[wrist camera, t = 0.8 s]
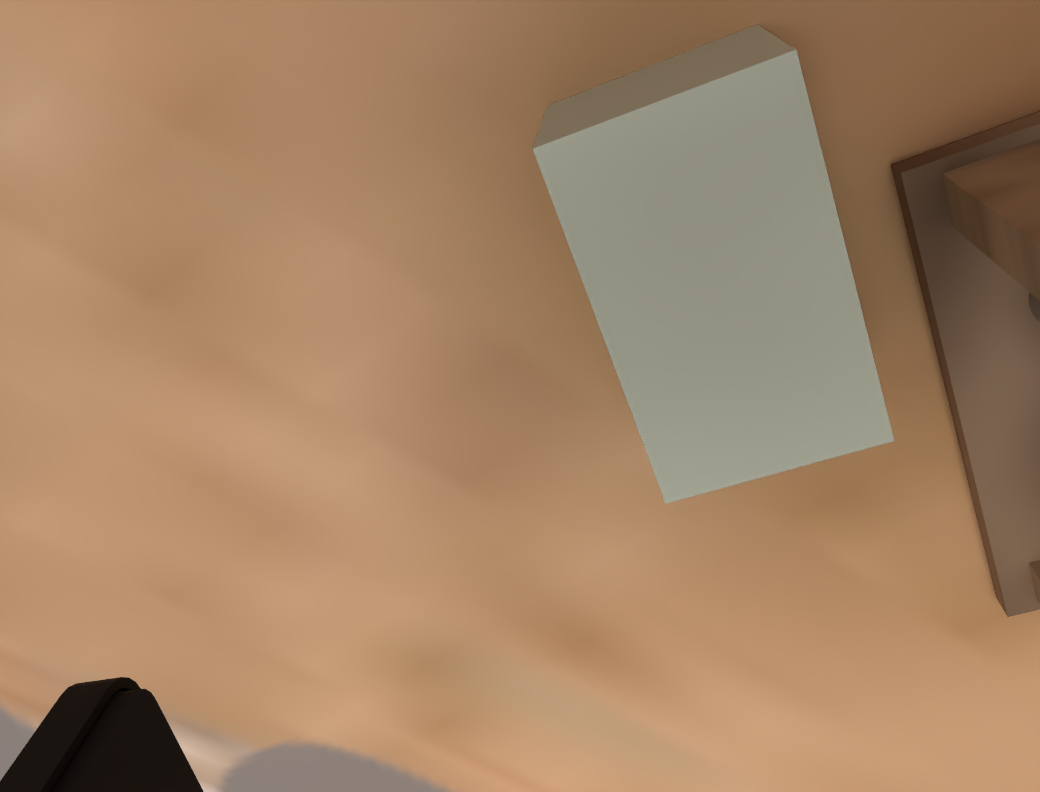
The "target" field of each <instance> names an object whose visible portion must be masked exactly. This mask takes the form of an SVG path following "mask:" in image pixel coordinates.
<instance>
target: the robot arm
mask: <svg viewBox="0 0 1040 792" xmlns="http://www.w3.org/2000/svg"><path fill="white" fill-rule="evenodd" d="M0 792H203V790H202V788H201V786H200V784H199V782H198V780H197V778H196V776H195V774H194V772H193V770H192V769H191V767H190V765H189V763H188V761H187V759H186V757H185V755H184V753H183V751H182V749H181V747H180V745H179V743H178V742H177V740H176V738H175V736H174V734H173V732H172V730H171V728H170V726H169V724H168V722H167V720H166V718H165V716H164V715H163V713H162V711H161V709H160V707H159V705H158V703H157V701H156V699H155V697H154V696H153V695H152V693H151V692H149V691H148V690H146V689H140V687H139V686H138V684H137V683H136V682H135V681H133V680H132V679H130V678H124V677H120V678H113V679H106V680H99V681H92V682H85V683H78V684H75V685H72V686H70V687H68V688H67V689H66V690H65V691H64V692H63V694H62V695H61V696H60V697H59V699H58V700H57V702H56V703H55V704H54V706H53V707H52V709H51V710H50V711H49V713H48V714H47V716H46V717H45V719H44V720H43V721H42V723H41V724H40V726H39V727H38V728H37V730H36V731H35V733H34V734H33V736H32V737H31V738H30V740H29V742H28V743H27V744H26V746H25V747H24V748H23V750H22V751H21V753H20V754H19V756H18V757H17V758H16V760H15V761H14V763H13V764H12V766H11V767H10V768H9V770H8V771H7V772H6V774H5V775H4V777H3V778H2V780H1V781H0Z"/></svg>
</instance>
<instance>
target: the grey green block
mask: <svg viewBox="0 0 1040 792" xmlns="http://www.w3.org/2000/svg"><path fill="white" fill-rule="evenodd" d="M533 151H534V154H535V157H536V159H537V162H538V165H539V167H540V170H541V173H542V175H543V178H544V181H545V183H546V186H547V189H548V191H549V194H550V197H551V199H552V202H553V205H554V207H555V210H556V213H557V215H558V218H559V221H560V223H561V226H562V229H563V231H564V234H565V237H566V239H567V242H568V245H569V247H570V250H571V253H572V255H573V258H574V261H575V263H576V266H577V269H578V271H579V274H580V277H581V279H582V282H583V285H584V287H585V290H586V293H587V295H588V298H589V301H590V303H591V306H592V309H593V311H594V314H595V317H596V319H597V322H598V325H599V327H600V330H601V333H602V335H603V338H604V341H605V343H606V346H607V349H608V351H609V354H610V357H611V359H612V362H613V365H614V367H615V370H616V373H617V375H618V378H619V381H620V383H621V386H622V389H623V391H624V394H625V397H626V399H627V402H628V405H629V407H630V410H631V413H632V415H633V418H634V421H635V423H636V426H637V429H638V431H639V434H640V437H641V439H642V442H643V445H644V447H645V450H646V453H647V455H648V458H649V461H650V463H651V466H652V469H653V471H654V474H655V477H656V479H657V482H658V485H659V487H660V490H661V493H662V495H663V498H664V501H665V503H666V504H667V503H670V502H674V501H678V500H681V499H685V498H689V497H692V496H696V495H700V494H703V493H707V492H710V491H714V490H718V489H721V488H725V487H729V486H732V485H736V484H740V483H743V482H747V481H751V480H754V479H758V478H761V477H765V476H769V475H772V474H776V473H780V472H783V471H787V470H791V469H794V468H798V467H801V466H805V465H809V464H812V463H816V462H820V461H823V460H827V459H831V458H834V457H838V456H842V455H845V454H849V453H852V452H856V451H860V450H863V449H867V448H871V447H874V446H878V445H882V444H885V443H889V442H893V441H894V438H893V434H892V430H891V426H890V422H889V418H888V414H887V410H886V406H885V402H884V398H883V394H882V390H881V386H880V382H879V378H878V374H877V370H876V366H875V362H874V358H873V354H872V350H871V346H870V342H869V338H868V334H867V330H866V326H865V322H864V318H863V314H862V310H861V306H860V302H859V298H858V294H857V290H856V286H855V282H854V278H853V274H852V270H851V266H850V262H849V258H848V254H847V250H846V246H845V242H844V238H843V234H842V230H841V226H840V222H839V218H838V214H837V210H836V206H835V202H834V198H833V194H832V190H831V186H830V182H829V178H828V174H827V170H826V166H825V162H824V158H823V154H822V150H821V146H820V142H819V138H818V134H817V130H816V126H815V122H814V118H813V114H812V110H811V106H810V102H809V98H808V94H807V90H806V86H805V82H804V78H803V74H802V70H801V66H800V62H799V58H798V54H797V50H796V49H795V48H793V47H792V46H790V45H789V44H787V43H785V42H784V41H782V40H781V39H779V38H778V37H776V36H774V35H773V34H771V33H770V32H768V31H767V30H765V29H763V28H762V27H760V26H759V25H754V26H751V27H749V28H746V29H744V30H741V31H739V32H736V33H733V34H731V35H728V36H726V37H723V38H720V39H718V40H715V41H713V42H710V43H707V44H705V45H702V46H700V47H697V48H695V49H692V50H689V51H687V52H684V53H682V54H679V55H676V56H674V57H671V58H669V59H666V60H664V61H661V62H658V63H656V64H653V65H651V66H648V67H645V68H643V69H640V70H638V71H635V72H632V73H630V74H627V75H625V76H622V77H620V78H617V79H614V80H612V81H609V82H607V83H604V84H601V85H599V86H596V87H594V88H591V89H589V90H586V91H583V92H581V93H578V94H576V95H573V96H570V97H568V98H565V99H563V100H560V101H557V102H555V103H552V104H550V105H547V107H546V110H545V113H544V116H543V119H542V122H541V125H540V128H539V131H538V134H537V137H536V140H535V143H534V146H533Z"/></svg>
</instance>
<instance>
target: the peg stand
mask: <svg viewBox="0 0 1040 792" xmlns="http://www.w3.org/2000/svg"><path fill="white" fill-rule="evenodd" d="M891 167H892V171H893V175H894V180H895V184H896V188H897V192H898V196H899V200H900V204H901V208H902V212H903V216H904V220H905V225H906V229H907V233H908V237H909V241H910V245H911V249H912V253H913V257H914V261H915V265H916V270H917V274H918V278H919V282H920V286H921V290H922V294H923V298H924V302H925V306H926V310H927V315H928V319H929V323H930V327H931V331H932V335H933V339H934V343H935V347H936V351H937V355H938V360H939V364H940V368H941V372H942V376H943V380H944V384H945V388H946V392H947V396H948V400H949V405H950V409H951V413H952V417H953V421H954V425H955V429H956V433H957V437H958V441H959V445H960V450H961V454H962V458H963V462H964V466H965V470H966V474H967V478H968V482H969V486H970V490H971V495H972V499H973V503H974V507H975V511H976V515H977V519H978V523H979V527H980V531H981V535H982V540H983V544H984V548H985V552H986V556H987V560H988V564H989V568H990V572H991V576H992V580H993V585H994V589H995V593H996V597H997V599H998V601H999V603H1000V604H1001V606H1002V608H1003V610H1004V611H1005V613H1006V615H1007V616H1008V617H1009V616H1014V615H1018V614H1022V613H1026V612H1030V611H1034V610H1038V609H1040V111H1039V112H1037V113H1034V114H1031V115H1028V116H1025V117H1023V118H1020V119H1017V120H1014V121H1012V122H1009V123H1006V124H1003V125H1000V126H998V127H995V128H992V129H989V130H987V131H984V132H981V133H978V134H975V135H973V136H970V137H967V138H964V139H962V140H959V141H956V142H953V143H950V144H948V145H945V146H942V147H939V148H937V149H934V150H931V151H928V152H926V153H923V154H920V155H917V156H914V157H912V158H909V159H906V160H903V161H901V162H898V163H895V164H892V165H891Z"/></svg>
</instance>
